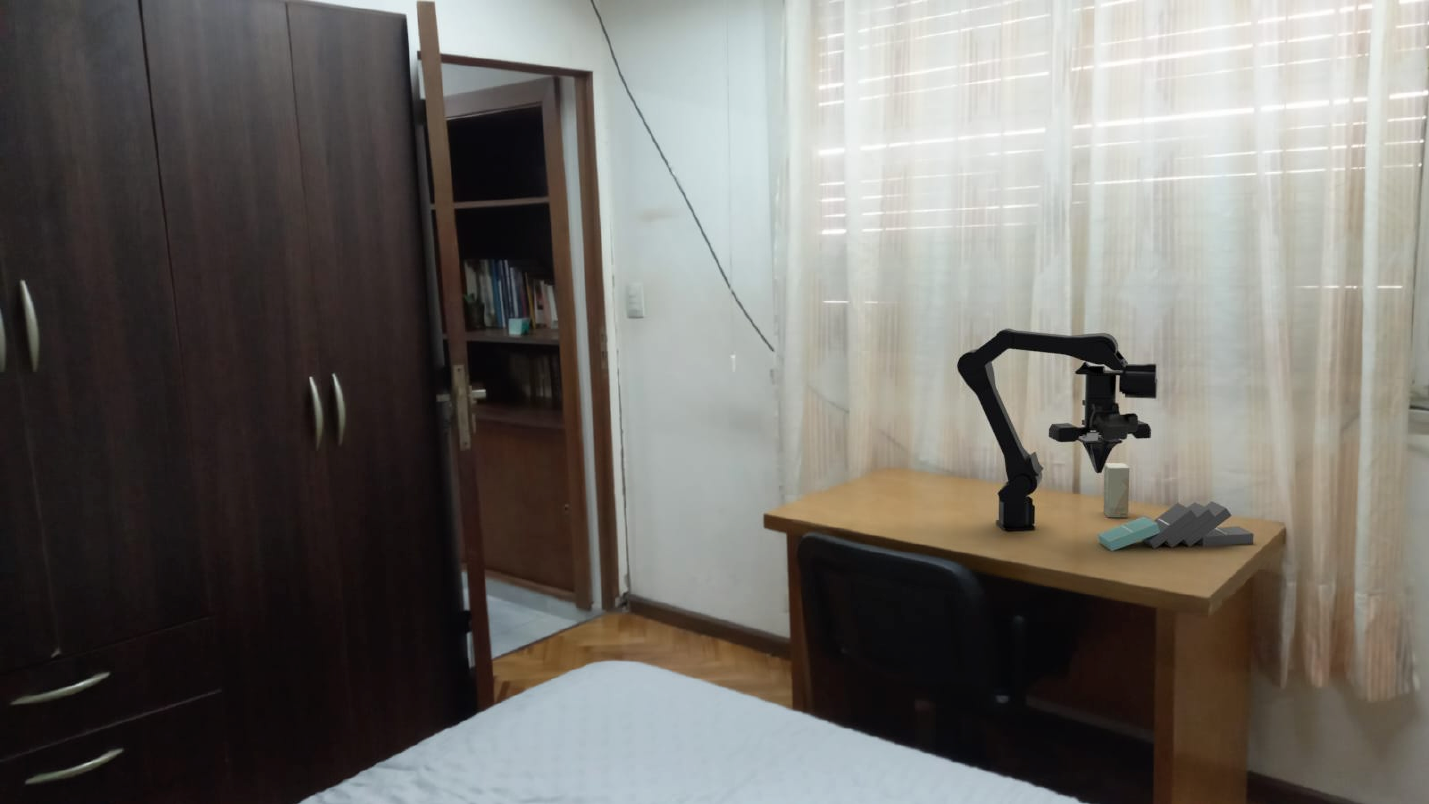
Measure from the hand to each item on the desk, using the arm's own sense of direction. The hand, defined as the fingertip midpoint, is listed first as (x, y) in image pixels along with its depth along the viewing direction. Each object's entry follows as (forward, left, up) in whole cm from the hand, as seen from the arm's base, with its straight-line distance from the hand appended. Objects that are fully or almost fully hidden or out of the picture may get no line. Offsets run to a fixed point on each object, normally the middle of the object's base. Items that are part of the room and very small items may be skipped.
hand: (1098, 472), depth 193 cm
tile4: (+13, -8, -12) cm, 20 cm away
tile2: (+6, -8, -12) cm, 16 cm away
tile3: (+10, -8, -12) cm, 18 cm away
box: (+10, +13, -13) cm, 21 cm away
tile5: (+16, -8, -12) cm, 22 cm away
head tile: (-2, -8, -12) cm, 15 cm away
